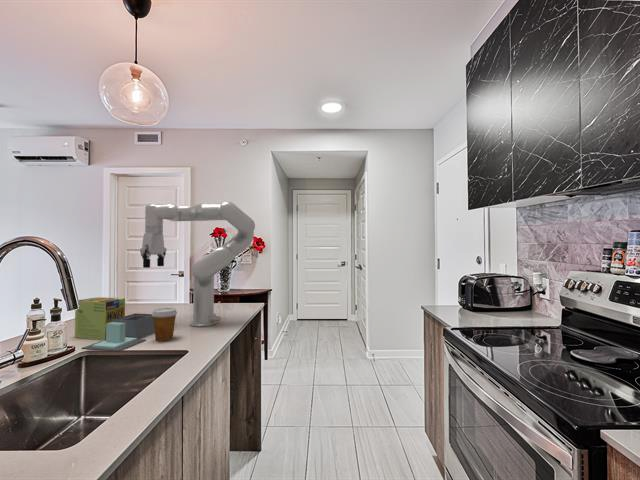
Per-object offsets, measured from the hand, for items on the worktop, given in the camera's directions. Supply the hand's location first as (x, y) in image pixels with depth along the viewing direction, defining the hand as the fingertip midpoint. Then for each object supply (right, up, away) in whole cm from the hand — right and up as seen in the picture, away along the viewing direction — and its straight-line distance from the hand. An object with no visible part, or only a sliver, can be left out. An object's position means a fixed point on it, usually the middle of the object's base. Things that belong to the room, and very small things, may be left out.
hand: (153, 266), depth 155 cm
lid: (-1, -28, -28) cm, 39 cm away
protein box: (-15, -28, -15) cm, 36 cm away
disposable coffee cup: (+15, -28, -20) cm, 38 cm away
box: (-1, -28, -14) cm, 32 cm away
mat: (-1, -28, -28) cm, 39 cm away
